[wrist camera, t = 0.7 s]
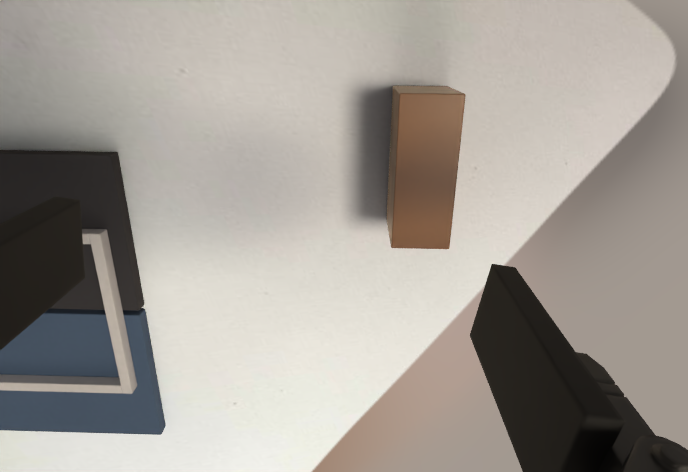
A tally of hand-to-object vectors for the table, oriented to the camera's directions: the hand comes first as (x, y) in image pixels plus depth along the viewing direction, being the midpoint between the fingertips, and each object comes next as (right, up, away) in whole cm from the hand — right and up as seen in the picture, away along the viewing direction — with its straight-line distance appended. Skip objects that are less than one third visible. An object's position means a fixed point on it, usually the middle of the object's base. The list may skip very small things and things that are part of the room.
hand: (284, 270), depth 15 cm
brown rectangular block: (+7, +6, +16) cm, 18 cm away
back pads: (-21, -4, +21) cm, 30 cm away
